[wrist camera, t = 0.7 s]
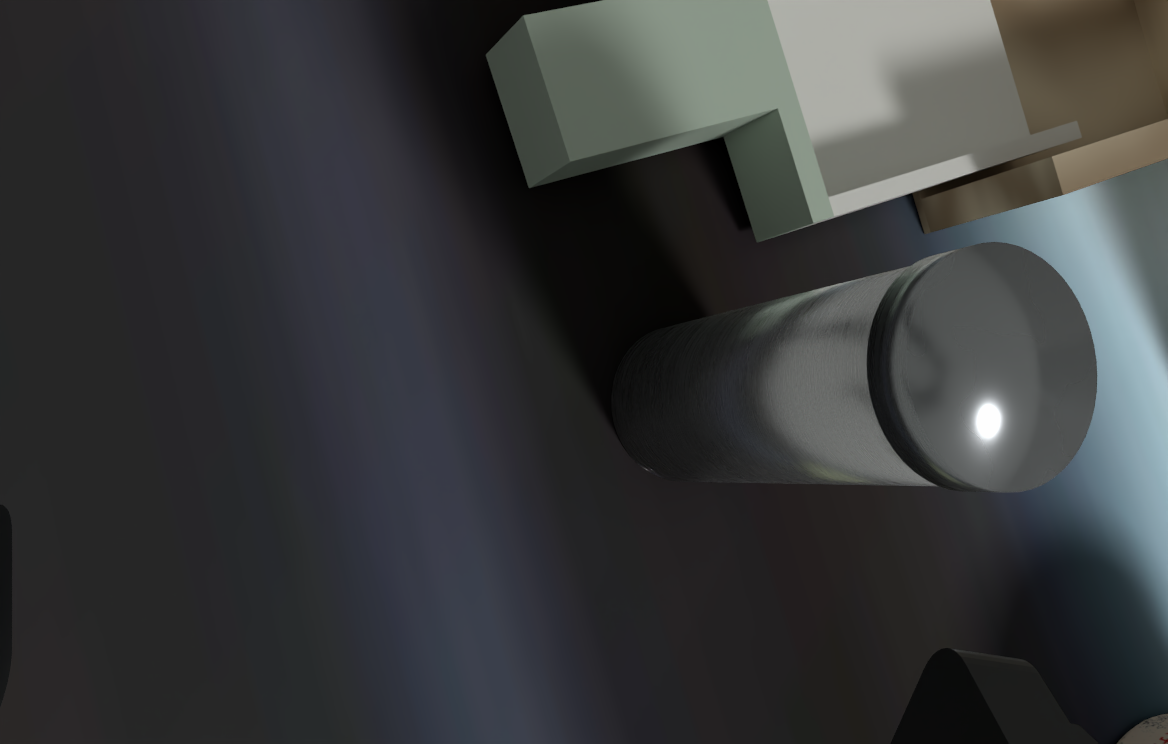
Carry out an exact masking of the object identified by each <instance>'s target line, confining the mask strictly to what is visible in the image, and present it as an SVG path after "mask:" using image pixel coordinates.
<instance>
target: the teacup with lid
mask: <svg viewBox="0 0 1168 744" xmlns="http://www.w3.org/2000/svg"><path fill="white" fill-rule="evenodd" d="M1117 744H1168V714H1162V715H1158V716H1155V717H1151V718H1149V719H1147V720H1144V721H1143V722H1141V723H1139V724H1138V725H1136V726H1135V727H1134V728H1132V729H1131V730H1130V731H1128V732H1127V733H1126V734H1125V735H1124V736H1123V737H1122V738H1121V739H1120V740H1119V741H1118V743H1117Z"/></svg>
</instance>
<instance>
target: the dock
mask: <svg viewBox="0 0 1168 744" xmlns="http://www.w3.org/2000/svg"><path fill="white" fill-rule="evenodd" d="M990 1H991V5H992V8H993V11H994V15H995V18H996V21H997V25H998V28H999V32H1000V35H1001V38H1002V42H1003V45H1004V48H1005V52H1006V55H1007V58H1008V62H1009V65H1010V68H1011V72H1012V75H1013V78H1014V82H1015V85H1016V88H1017V92H1018V95H1019V99H1020V102H1021V105H1022V109H1023V112H1024V115H1025V119H1026V122H1027V125H1028V129H1029V132H1030V135H1032V134H1035V133H1038V132H1042V131H1045V130H1048V129H1051V128H1055V127H1058V126H1061V125H1064V124H1068V123H1071V122H1074V121H1077V123H1078V126H1079V129H1080V133H1081V136H1082V138H1079V139H1076V140H1073V141H1070V142H1067V143H1064V144H1061V145H1058V146H1055V147H1052V148H1049V149H1046V150H1043V151H1041V152H1038V153H1035V154H1032V155H1029V156H1026V157H1023V158H1020V159H1016V160H1013V161H1010V162H1007V163H1004V164H1001V165H998V166H995V167H991V168H988V169H985V170H982V171H979V172H976V173H973V174H970V175H966V176H963V177H960V178H957V179H954V180H951V181H948V182H945V183H941V184H938V185H935V186H932V187H929V188H926V189H923V190H920V191H916V192H913V193H912V194H913V197H914V201H915V204H916V207H917V210H918V214H919V217H920V220H921V224H922V227H923V230H924V233H925V234H927V233H930V232H934V231H938V230H941V229H945V228H948V227H952V226H955V225H959V224H962V223H966V222H969V221H973V220H976V219H980V218H983V217H987V216H990V215H994V214H998V213H1001V212H1005V211H1008V210H1012V209H1015V208H1019V207H1022V206H1026V205H1029V204H1033V203H1036V202H1040V201H1043V200H1047V199H1050V198H1054V197H1058V196H1061V195H1064V194H1067V193H1070V192H1073V191H1076V190H1079V189H1082V188H1084V187H1087V186H1090V185H1093V184H1096V183H1099V182H1102V181H1105V180H1107V179H1110V178H1113V177H1116V176H1119V175H1122V174H1125V173H1128V172H1130V171H1133V170H1136V169H1139V168H1142V167H1145V166H1148V165H1151V164H1153V163H1156V162H1159V161H1162V160H1165V159H1168V0H990Z"/></svg>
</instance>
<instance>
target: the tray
mask: <svg viewBox="0 0 1168 744" xmlns="http://www.w3.org/2000/svg"><path fill="white" fill-rule="evenodd" d="M486 58H487V61H488V64H489V67H490V70H491V73H492V76H493V79H494V82H495V85H496V88H497V92H498V95H499V98H500V101H501V104H502V107H503V110H504V113H505V116H506V119H507V122H508V125H509V128H510V132H511V135H512V138H513V141H514V144H515V147H516V150H517V153H518V156H519V159H520V162H521V165H522V168H523V172H524V175H525V178H526V181H527V184H528V187H529V188H532V187H536V186H539V185H543V184H547V183H551V182H554V181H558V180H562V179H566V178H570V177H573V176H577V175H581V174H585V173H588V172H592V171H596V170H600V169H604V168H607V167H611V166H615V165H619V164H622V163H626V162H630V161H634V160H638V159H641V158H645V157H649V156H653V155H656V154H660V153H664V152H668V151H672V150H675V149H679V148H683V147H687V146H690V145H694V144H698V143H702V142H705V141H709V140H713V139H717V138H721V137H724V140H725V143H726V146H727V149H728V153H729V156H730V159H731V162H732V165H733V168H734V172H735V175H736V178H737V181H738V184H739V188H740V191H741V194H742V197H743V200H744V203H745V207H746V210H747V213H748V216H749V219H750V223H751V226H752V229H753V232H754V235H755V239H756V242H760V241H763V240H766V239H770V238H773V237H776V236H779V235H782V234H785V233H788V232H791V231H794V230H798V229H801V228H804V227H807V226H810V225H813V224H816V223H819V222H823V221H826V220H829V219H832V218H835V217H838V216H841V215H844V214H848V213H851V212H854V211H857V210H860V209H863V208H866V207H869V206H873V205H876V204H879V203H882V202H885V201H888V200H891V199H894V198H898V197H901V196H904V195H907V194H910V193H913V192H916V191H920V190H923V189H926V188H929V187H932V186H935V185H938V184H941V183H945V182H948V181H951V180H954V179H957V178H960V177H963V176H966V175H970V174H973V173H976V172H979V171H982V170H985V169H988V168H991V167H995V166H998V165H1001V164H1004V163H1007V162H1010V161H1013V160H1016V159H1020V158H1023V157H1026V156H1029V155H1032V154H1035V153H1038V152H1041V151H1043V150H1046V149H1049V148H1052V147H1055V146H1058V145H1061V144H1064V143H1067V142H1070V141H1073V140H1076V139H1079V138H1082V136H1081V133H1080V129H1079V126H1078V123H1077V121H1074V122H1071V123H1068V124H1064V125H1061V126H1058V127H1055V128H1051V129H1048V130H1045V131H1042V132H1038V133H1035V134H1032V135H1030V132H1029V129H1028V125H1027V122H1026V119H1025V115H1024V112H1023V109H1022V105H1021V102H1020V99H1019V95H1018V92H1017V88H1016V85H1015V82H1014V78H1013V75H1012V72H1011V68H1010V65H1009V62H1008V58H1007V55H1006V52H1005V48H1004V45H1003V42H1002V38H1001V35H1000V32H999V28H998V25H997V21H996V18H995V15H994V11H993V8H992V5H991V1H990V0H602V1H597V2H592V3H587V4H581V5H576V6H571V7H566V8H560V9H555V10H550V11H545V12H539V13H534V14H529V15H524V16H522V17H521V18H520V19H519V20H518V22H517V23H516V24H515V25H514V26H513V27H512V28H511V29H510V30H509V31H508V32H507V33H506V34H505V35H504V36H503V37H502V38H501V39H500V40H499V41H498V42H497V44H496V45H495V46H494V47H493V48H492V49H491V50H490V51H489V52H488V53H487V54H486Z"/></svg>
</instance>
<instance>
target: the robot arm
mask: <svg viewBox="0 0 1168 744" xmlns="http://www.w3.org/2000/svg"><path fill="white" fill-rule="evenodd" d="M11 656H12V524H11V518H10V514H9V512H8V510H7V508H6V507H5V506H3V505H0V706H1V703H2V700H3V697H4V693H5V690H6V686H7V682H8V677H9V672H10V666H11ZM891 744H1099V743H1098V742H1097V741H1096V740H1095V739H1093V738H1092V737H1091V736H1090V735H1089V734H1088V733H1087V732H1086V731H1085V730H1084V729H1083V728H1082V727H1081V726H1080V725H1076V724H1070V722H1069V721H1068V719H1067V717H1066V716H1065V714H1064V713H1063V711H1062V709H1061V708H1060V706H1059V705H1058V703H1057V701H1056V700H1055V698H1054V697H1053V695H1052V693H1051V692H1050V690H1049V689H1048V687H1047V685H1046V684H1045V682H1044V681H1043V679H1042V677H1041V676H1040V674H1039V673H1038V671H1037V670H1036V669H1035V667H1034V666H1032V665H1031V664H1030V663H1029V662H1027V661H1025V660H1022V659H1016V658H1010V657H1003V656H996V655H989V654H983V653H976V652H969V651H963V650H956V649H949V648H944V649H941V650H939V651H937V652H936V653H935V654H934V655H932V657H931V658H930V659H929V661H928V662H927V664H926V666H925V668H924V670H923V673H922V675H921V677H920V679H919V682H918V684H917V686H916V688H915V690H914V693H913V695H912V697H911V699H910V702H909V704H908V706H907V708H906V710H905V713H904V715H903V717H902V719H901V722H900V724H899V726H898V728H897V730H896V733H895V735H894V737H893V739H892V742H891Z"/></svg>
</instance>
